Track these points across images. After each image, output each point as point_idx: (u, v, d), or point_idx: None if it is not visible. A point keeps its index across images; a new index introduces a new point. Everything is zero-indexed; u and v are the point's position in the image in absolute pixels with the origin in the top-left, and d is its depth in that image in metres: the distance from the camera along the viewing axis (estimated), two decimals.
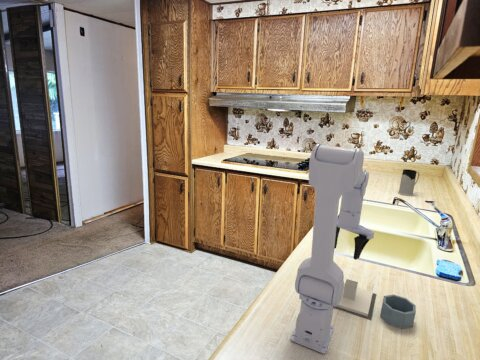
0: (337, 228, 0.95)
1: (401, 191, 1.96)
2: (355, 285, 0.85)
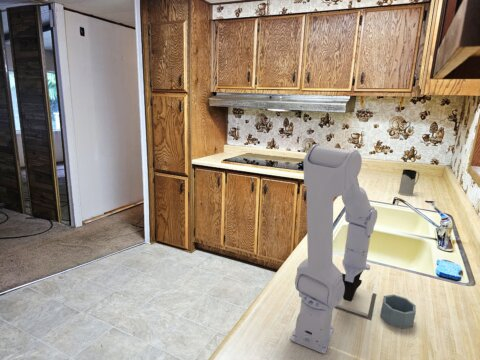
0: None
1: (401, 191, 1.96)
2: None
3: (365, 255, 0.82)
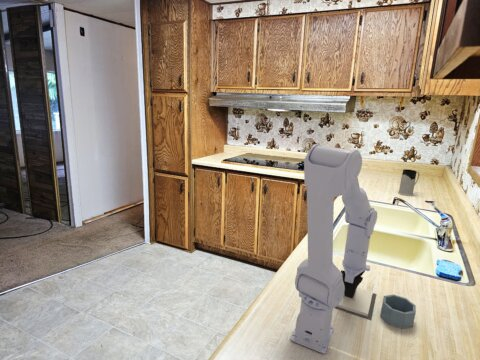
0: None
1: (401, 191, 1.96)
2: None
3: (365, 256, 0.82)
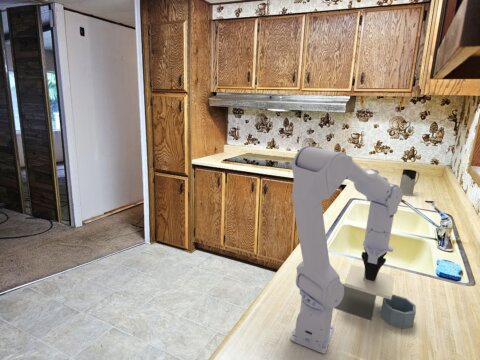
0: None
1: None
2: None
3: (388, 236, 0.78)
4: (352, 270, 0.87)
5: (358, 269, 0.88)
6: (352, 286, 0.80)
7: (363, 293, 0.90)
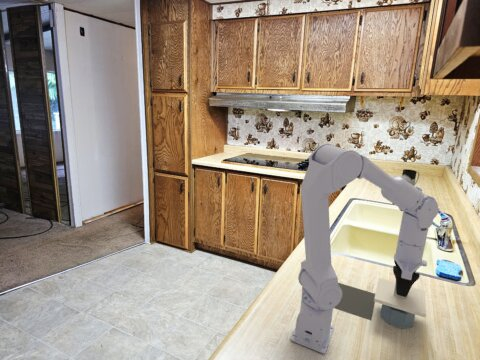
0: None
1: None
2: None
3: (422, 250, 0.73)
4: (380, 283, 0.83)
5: (387, 282, 0.84)
6: (382, 302, 0.76)
7: (363, 293, 0.90)
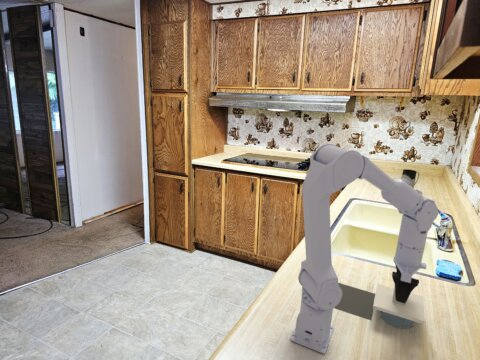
0: None
1: None
2: None
3: (422, 252, 0.73)
4: (378, 290, 0.84)
5: (385, 288, 0.84)
6: (381, 309, 0.76)
7: (363, 293, 0.90)
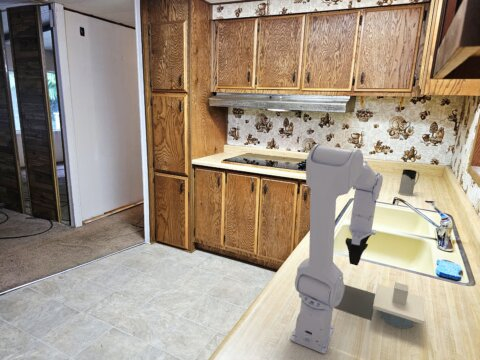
0: None
1: (401, 191, 1.96)
2: (406, 289, 0.77)
3: (371, 220, 0.85)
4: (378, 290, 0.84)
5: (385, 288, 0.84)
6: (381, 309, 0.76)
7: (363, 293, 0.90)
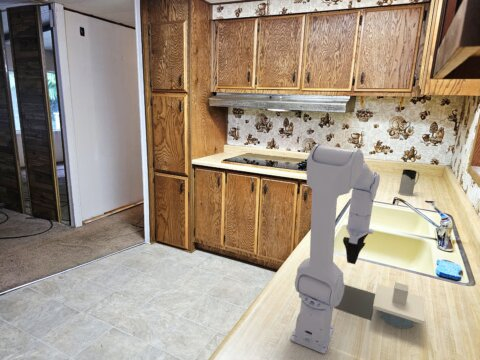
0: None
1: (401, 191, 1.96)
2: (406, 289, 0.77)
3: (368, 219, 0.85)
4: (378, 290, 0.84)
5: (385, 288, 0.84)
6: (381, 309, 0.76)
7: (363, 293, 0.90)
